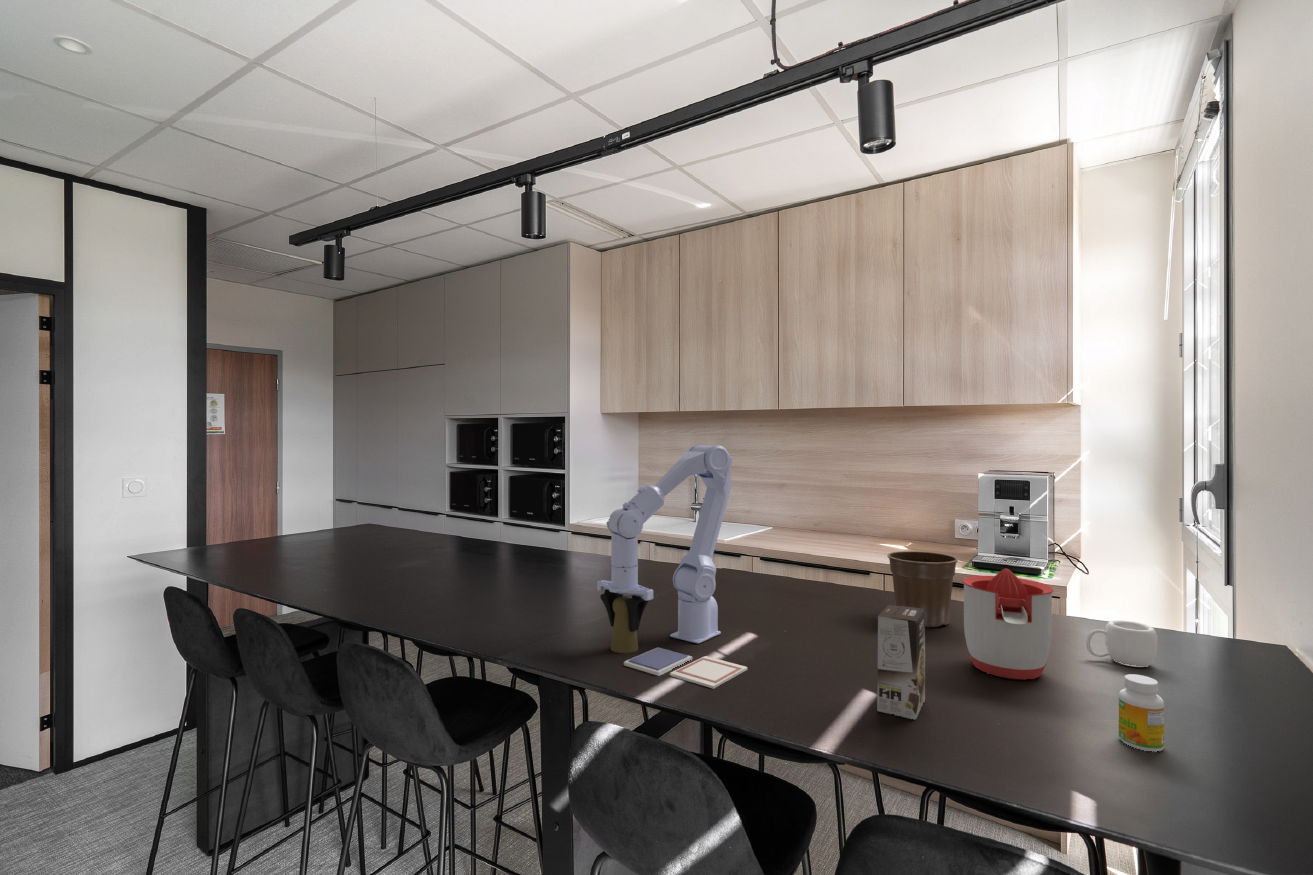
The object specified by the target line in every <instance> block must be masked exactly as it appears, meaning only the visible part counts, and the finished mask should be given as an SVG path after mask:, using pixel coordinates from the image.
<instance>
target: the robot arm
mask: <svg viewBox="0 0 1313 875" xmlns="http://www.w3.org/2000/svg"><path fill="white" fill-rule="evenodd" d="M732 463H733V459H732V457H731V455H730V454H729V451H728V450H727V448H726V447H724V446H723V445H719V444H718V445H717V444H716V445H704V444H694V445H692V446H691V447H689V449H688V451H687V450H686V451H685V452H684V453H682V455H681V456H680V458H679V459H678V461H677V462H676V463H675V464H674V465H672V467H670V469H669V470H668V471H667V472H666V473H665V474H664V475H663V476H662V477H661V478H660V479H659V480H657V481H656V483H655V484H654V485H645V486H641V487H639V488H638V489H637V493H636V495H635V496H633V497H632V498H631V499H630V500H628V501H627V502H626V501H625V502H624V503H623V504H622V508H619V509H615V510H614V511H612V513H611V514H610V515H609V518H608V520H607V521H606V528H607V530H608V531H609V532H610V534H611V539H610V540H611V545H610V546H611V548H610V550H611V552H610V554H611V559H610V562H611V563H610V564H611V568H610V569H611V573H610V574H611V576H610V578H611V579H610V580H606V579H603V580H602V579H601V580H598V581H597V582H596V583H597V585H596V587H597V588H596V590H597V591H604V592H603V593H602V594H600V600H601V601H602V604H603V605H604V607H605V609H606V612H607V616H608V619H609V623H610V627H611V628H613V626H614V619H615V612H614V611H613V602H614V600H615V599H616V598H618V597H624V596H627V597H632V598H629V599H626V600H625V603H626V606H627V609H628V615H629V629H630V631H631V632H634V631H636V632H637V631H639V629H640V628H639V627H640V624H641V620H642V617H643V614H644V611H645V609H646V607H647V605H648V603H649V602H650V601H651V600H653V599H654V589H652V588H648V587H645V586H642V585H640V584H638V582H639V580H638V578H639V575H638V574H639V570H638V568H639V565H638V564H639V561H638V560H639V559H638V558H639V556H638V555H639V554H638V552H639V550H638V549H639V544H638V543H639V542H638V540H639V539H638V538H639V537H638V536H639V535H640V534H641V533H642V531H643V530H644V529H643V528H644V524H645V523H646V522H647V521H648V520H649V519H650V518H651V517H653V515H654V514H656V512H658V511H659V510H660V509H661V508H662V507H663V506H664V504H665V498H666V496H667V495H669V493H671V492H672V491H673V490H674V489H676V488H677V487H678V486H679V485H680V484H681V483H683V482H685V480H686V479H687V478H689V477H690V476H694V475H695V476H696V475H697V476H698V477H699V478H700V479H701V480H702V482H703V485H704V486H705V487H706V489H705V493H704V497H703V501H702V504H701V507H700V511H699V516H698V519H697V522H696V526H695V528H694V529H695V530H694V533H693V537H692V540H691V544H690V548H689V552H688V553H686V555H684V556H683V557H682V558H681V559H680V562H679V565H678V567H677V568H676V569H675V571H674V573H673V575H672V584H673V587H674V588H675V590H677V595H678V596H677V597H678V598H677V608H678V609H677V624H678V625H677V629H678V630H677V631H676V632H673V633H671V634H670V637H671V638H674V639H678V640H683V641H686V642H690V643H695V644H700V643H702V642H706V641H707V640H710V639H712V638H714V637H717V636H718V635H721V634H722V633H721V632H722V631H720V630H718V622H719V620H718V618H719V616H718V615H719V614H718V612H719V609H718V603H717V601H716V599H715V597H714V596H713V595H714V592H715V591H716V586H717V583H716V575H717V574H716V573H717V567H716V565H715V563H714V562H713V556H714V553H715V548H716V545H717V541H718V537H719V533H720V530H721V528H722V523H723V519H724V516H725V512H726V509H727V505H728V502H729V501H728V500H729V497H730V493H731V490H732V484H733V483H732V475H731V474H732V473H731V466H732Z"/></svg>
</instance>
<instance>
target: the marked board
mask: <svg viewBox="0 0 1313 875" xmlns="http://www.w3.org/2000/svg"><path fill="white" fill-rule="evenodd" d="M745 671H748V667H747V666H745V665H740V664H737V663H733V662H730V661H726V660H722V659H718V658H714V657H712V656H711V657H710V656H707V655H705V656H702V657H700V658H698V659H696V660H694V661H692V662H690V663H687V664H686V665H685V664H684V666H683V665H682V666H681V667H680V668H679V667H678V669H677V668H676V669H675V670H673V671H671V672H669V676H671V677H673V678H677V679H680V680H684V681H686V682H689V683H693V684H697V685H700V686H703V687H707V688H710V689H713V690H714V689H716V688H717V687H719V686H720V685H723V684H725V683H726V682H728V681H730V680H732V679H733V678H735V677H737V676H739V675H740V674H742V673H744V672H745Z"/></svg>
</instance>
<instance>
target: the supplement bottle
mask: <svg viewBox="0 0 1313 875" xmlns="http://www.w3.org/2000/svg"><path fill="white" fill-rule="evenodd" d="M1123 679H1124V682H1123V683H1124V687H1126V688H1123V689H1121V690H1120V691H1119V692H1118V739H1119V738H1120V739H1121V740H1122V741H1123V742H1125V743H1126V744H1127V745H1126V744H1125V745H1126V746H1128V745H1129V746H1128V747H1130V746H1131V747H1130V748H1132V747H1134V748H1133V749H1135V748H1137V749H1136V750H1138V749H1141V750H1140V751H1142V750H1144V751H1143V752H1146V751H1152V752H1151V753H1158V752H1157V751H1159V752H1161V751H1163V750H1164V748H1165V702H1164V700H1163V698H1162V697H1161V696H1160V695H1158V694H1157V693H1159V682H1158V681H1157V680H1156V679H1155V678H1152V677H1149V676H1146V675H1142V674H1134V673H1133V674H1131V673H1130V674H1125V675H1124V678H1123ZM1120 739H1119V740H1120ZM1123 742H1122V743H1123ZM1153 751H1154V752H1153Z"/></svg>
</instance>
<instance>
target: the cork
mask: <svg viewBox="0 0 1313 875" xmlns="http://www.w3.org/2000/svg"><path fill="white" fill-rule="evenodd" d="M629 598H632V596H623V597H618V598H616V599H615V600H614V602H613V611H614V612H615V619H614V626H613V627H612V628H613V629H612V635H611V644H610V650H611V651H612V652H613V653H617V654H631V653H635V652H637V651H638V650H639V643H638V634H637V631H634V632H631V631H630V629H629V615H628V609H627V606H626V603H625V600H626V599H629Z"/></svg>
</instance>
